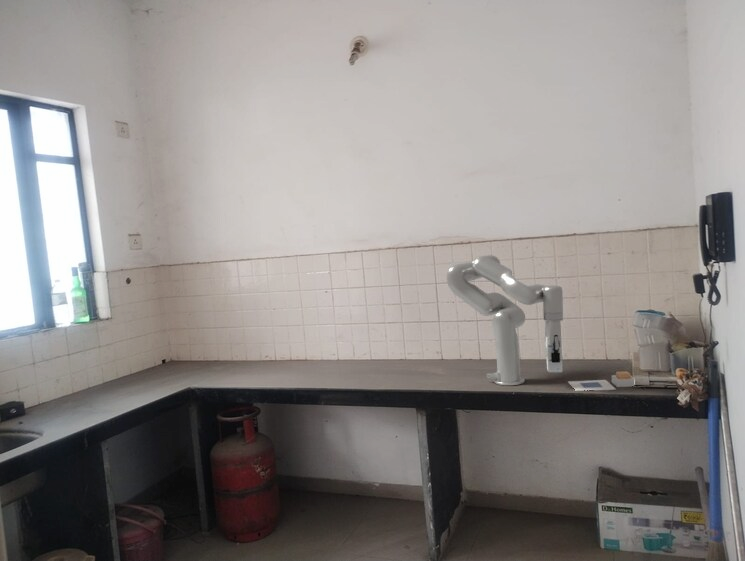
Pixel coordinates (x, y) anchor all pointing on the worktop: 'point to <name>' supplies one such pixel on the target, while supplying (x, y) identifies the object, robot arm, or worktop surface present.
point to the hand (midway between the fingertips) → (554, 359)
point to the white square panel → (591, 385)
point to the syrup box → (550, 366)
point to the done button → (623, 375)
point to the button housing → (622, 382)
